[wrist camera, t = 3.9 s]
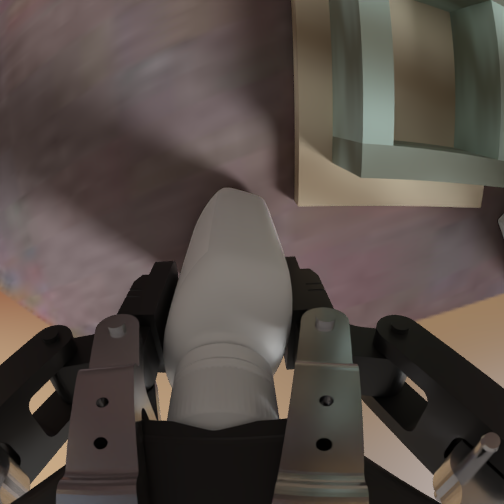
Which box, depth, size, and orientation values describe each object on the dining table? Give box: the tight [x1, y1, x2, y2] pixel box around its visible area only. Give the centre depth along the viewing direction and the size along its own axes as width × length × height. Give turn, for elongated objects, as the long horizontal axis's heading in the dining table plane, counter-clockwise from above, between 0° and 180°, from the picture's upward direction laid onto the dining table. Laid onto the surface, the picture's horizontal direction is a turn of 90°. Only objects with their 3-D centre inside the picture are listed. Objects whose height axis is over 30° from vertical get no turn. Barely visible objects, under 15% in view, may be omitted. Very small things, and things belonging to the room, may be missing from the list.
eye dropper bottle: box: [163, 188, 292, 430], centre depth 10 cm, size 4×6×12 cm
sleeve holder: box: [291, 0, 504, 208], centre depth 11 cm, size 14×11×4 cm
